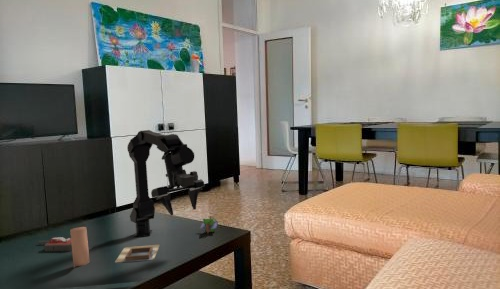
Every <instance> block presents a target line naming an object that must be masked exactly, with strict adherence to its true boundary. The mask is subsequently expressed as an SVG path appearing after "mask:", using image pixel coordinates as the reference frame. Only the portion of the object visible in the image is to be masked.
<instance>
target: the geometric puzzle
mask: <svg viewBox="0 0 500 289" xmlns="http://www.w3.org/2000/svg"><path fill="white" fill-rule="evenodd" d="M218 224H219V222H218V220H217V219H216V218H215V217H212V216H210V215H209V218H202V222H201V225H200V228H199V229H200V230H204V231H205V232H204V233H206V234H210V233H216V229H217V226H218Z"/></svg>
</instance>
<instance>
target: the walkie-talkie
mask: <svg viewBox="0 0 500 289" xmlns="http://www.w3.org/2000/svg"><path fill="white" fill-rule="evenodd" d="M37 243H38V244H40V245H41V244H43V250H44V252H72V244H71V237H68V238H65V237H63V236H62V237H61V236H58V237H57V236H55V237H52V238H51V239H49V240H38V242H37Z"/></svg>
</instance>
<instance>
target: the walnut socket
mask: <svg viewBox="0 0 500 289" xmlns="http://www.w3.org/2000/svg"><path fill="white" fill-rule="evenodd" d="M137 252H148V254H147V255H136V256H131V254H132V253H137ZM152 252H153V247H145V248H132V249H130V250H129V252H128V254H127V255H126V257H125V259H126V261H132V260H144V259H149V258H150V256H151V254H152Z"/></svg>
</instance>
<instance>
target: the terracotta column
mask: <svg viewBox="0 0 500 289" xmlns="http://www.w3.org/2000/svg"><path fill="white" fill-rule="evenodd" d="M69 231H70V232H69V233H70V239H71V244H72V251H71V253H72V262H73V269H75V268H76V267H81V266H85V265H88V264H89V263H90V252H89V242H88V240H89V239H88V230H87V226H78V227H74V228H71V229H70V230H69Z"/></svg>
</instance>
